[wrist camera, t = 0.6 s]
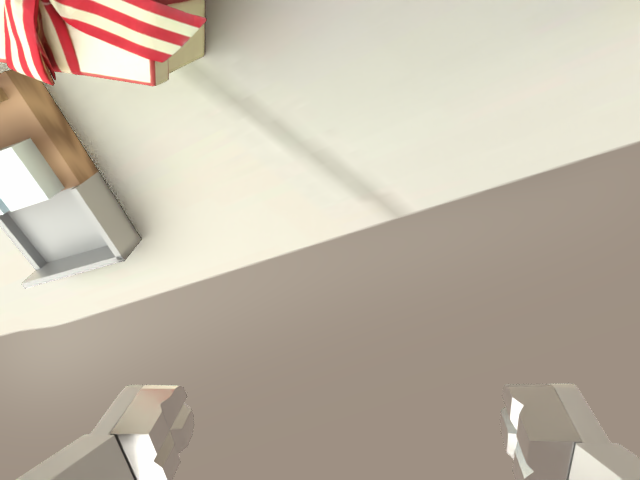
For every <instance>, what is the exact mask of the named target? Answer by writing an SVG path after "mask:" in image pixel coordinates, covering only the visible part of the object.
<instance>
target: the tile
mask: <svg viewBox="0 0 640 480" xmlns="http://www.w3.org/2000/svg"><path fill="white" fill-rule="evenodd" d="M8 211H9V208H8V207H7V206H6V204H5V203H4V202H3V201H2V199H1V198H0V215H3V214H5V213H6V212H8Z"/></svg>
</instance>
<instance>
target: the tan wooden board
mask: <svg viewBox="0 0 640 480" xmlns="http://www.w3.org/2000/svg"><path fill="white" fill-rule="evenodd" d="M0 88H1V89H2V90H3V92H4V93H5V95H6V96H7V98H8V100H6V101H3V102H1V103H0V149H2V148H4V147H7V146H10V145H13V144H15V143H18V142H21V141H23V140H26V139H29V138H31V140H32V141H33V143H34V144H35V145H36V147H37V148H38V150H39V151H40V153H41V154H42V156H43V157H44V158H45V160H46V161H47V163H48V164H49V166H50V167H51V169H52V170H53V172H54V173H55V174H56V176H57V177H58V179H59V180H60V182H61V183H62V185H63V186H64V187H65V188H64V189H63V190H66V189H69V188H72V187H75V186H78V185H81V184H82V183H83V182H85V181H86V180H87V179H89V178H90V177H91V176H93V175H94V174H96V173H97V172H98V170H97V168H96V167H95V165H94V163H93V162H92V160H91V159H90V157H89V155H88V154H87V152H86V151H85V149H84V148H83V146H82V144H81V143H80V141H79V140H78V138H77V136H76V135H75V133H74V132H73V130H72V129H71V127H70V125H69V124H68V122H67V121H66V119H65V118H64V116H63V114H62V113H61V111H60V110H59V108H58V106H57V105H56V103H55V102H54V100H53V99H52V97H51V95H50V94H49V92H48V91H47V89H46V87H45V86H44V84H43V83H42V81H39V80H37V79H34V78H32V77H29V76H26V75H24V74H21V73H18V72H16V71H14V70H9V71H5V72H3V73H0ZM63 190H61V191H63Z"/></svg>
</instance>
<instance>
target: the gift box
mask: <svg viewBox="0 0 640 480" xmlns="http://www.w3.org/2000/svg"><path fill="white" fill-rule="evenodd" d="M206 21H207V19H206V18H205V0H0V62H3V63H7V65H8V67H9V68H10V69H12V70H14V71H16V72H18V73H21V74H24V75H26V76H29V77H32V78H34V79H37V80H39V81H42V82H45V83H47V84H50V85H54V81H53V79H52V76H53V78H54V80H56V77H55V73H54V71H55V72H64V73H71V74H76V75H86V76H93V77H99V78H105V79H112V80H119V81H125V82H131V83H137V84H143V85H149V86H157V85H159V84H161V83H163V82H166V81H167V80H169V73H171V72H173V71H175V70H177V69H179V68H181V67H183V66H185V65H187V64H189V63H191V62H193V61H195V60H197V59H199V58H201V57H203V56H204V49H205V22H206ZM49 70H50V71H49ZM50 73H51V74H50ZM51 75H52V76H51Z"/></svg>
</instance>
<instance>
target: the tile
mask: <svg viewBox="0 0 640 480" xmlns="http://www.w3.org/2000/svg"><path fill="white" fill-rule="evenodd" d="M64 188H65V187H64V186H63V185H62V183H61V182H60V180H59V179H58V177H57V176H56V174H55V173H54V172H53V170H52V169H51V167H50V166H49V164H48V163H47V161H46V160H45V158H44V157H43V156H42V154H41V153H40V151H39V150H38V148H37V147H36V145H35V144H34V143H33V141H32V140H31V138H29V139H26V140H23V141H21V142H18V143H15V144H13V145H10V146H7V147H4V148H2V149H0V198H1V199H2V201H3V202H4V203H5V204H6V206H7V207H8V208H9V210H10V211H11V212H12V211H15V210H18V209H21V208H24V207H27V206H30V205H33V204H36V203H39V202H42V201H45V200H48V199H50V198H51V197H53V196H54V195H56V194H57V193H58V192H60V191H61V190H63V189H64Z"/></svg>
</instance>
